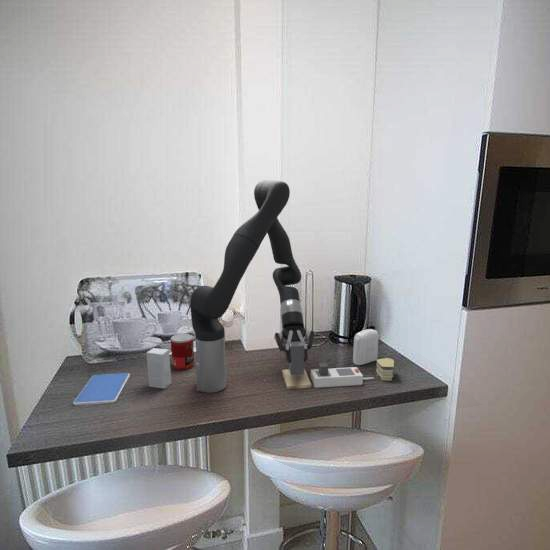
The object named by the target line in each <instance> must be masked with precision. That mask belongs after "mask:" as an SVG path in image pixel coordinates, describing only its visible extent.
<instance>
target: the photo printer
mask: <svg viewBox="0 0 550 550" xmlns="http://www.w3.org/2000/svg"><path fill="white" fill-rule="evenodd" d="M379 336H380V335H379V332H378V330H375V329H373V328H368V329H363V330H361V331H359V332H356V333H355V335H354V337H353V351H352V353H353V354H352V363H353V364H354V365H356V366H362V365H363V366H364V365H366V364H369V363H372V362H375V361H377V360H378V356H379V355H378V354H379V340H380V337H379Z"/></svg>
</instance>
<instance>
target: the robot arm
mask: <svg viewBox="0 0 550 550" xmlns="http://www.w3.org/2000/svg"><path fill="white" fill-rule="evenodd" d="M290 190H291V189H290V187H289V185H288V184H287V182H285V181H282V180H260V181H258V182H257V183H256V185H255V187H254V190H253V196H254V200H255V204H256V208H257V209H258V211H257V212H256V213H255V214H254V215H253V216H251V217H250V218H249V219H247V220H246V221H245V222H244V223H242V225H240V226H239V227H238V228H237V229H236V231H235V232H234V233H233V235H232V237H231V238H230V240H229V242H228V244H227V245H226V247H225V251H224V252H225V253H224V260H223V268H222V271H221V274H220V277H219V278H218V280H217V281H216V283H215V285H214V286H213V287H212V286H209V285H200V286H197V287H196V288H195V289H194V290H193V291H192V294H191V296H190V301H189V307H190V317H191V324H192V325H191V326H192V329H193V331H194V337H195V352H196V353H195V355H196V357H195V358H196V360H195V361H196V362H195V371H196V372H195V373H196V391H197V392H202V393H207V394H208V393H209V394H211V393H218V392H220V391H222V390H224V389H225V388H226V387H227V364H226V362H227V361H226V335H225V334H226V333H225V327H224V325H223V324H222V323H221V321H220V320H219V319H220V318H221V317H222V316H224V314H225V313H226V312H227V310H228V309H229V307H230V305H231V303H232V300H233V298H234V296H235V294H236V292H237V288H238V286H239V285H240V282H241V280H242V279H243V277H244V275H245V273H246V271H247V269H248V268H249V266H250V264H251V262H252V260H253V259H254V258H255V256H256V254H257V252H258V250H259V249H260V246H261V244H262V242H263V240H264V238H265V237H266V235H267V236H268V239H269V242H270V248H271V251H272V252H271V253H272V255H273V256H272V257H273V260H274V263H275V264H277V265H285V266H282V267H281V266H280V267H277V268H275V269H274V270H273V272H272V279H273V282H274V285H275V286H276V288H277V291H278V295H279V301H280V302H279V303H280V317H281V318H280V319H281V328H282V330H281V331H280V332H275V334H274V340H275V342H276V344H277V347H278V350H279V351H280V352H284V353H285V360H286V362H288V364H289V363H291V356H290V350H289V348H290V347H289V343H291V342H297V341H301V342H303V344H304V363H307V360H308V359H309V355H308V354H309V353H308V351H309V350H311V349H312V346H313V341H314V335H315V332H314V330H310V331H308V330H307V329H306V328H305V324H304V317H303V309H302V306H301V305H302V304H301V301H300V293H299V290H298V288H296V287H294V286H291V285H296V284H299V283H300V282H301V281H302V272H301V271H300V270H301V269H300V268H299V266H298V265H297V263H296V260H295V258H294V256H293V250H292V245H291V240H290V238H289V235H288V233H287V231H286V230H285V229H284V227H283V225H282V223H281V222H280V220H279V219H278V217H279V215H280V214H281V213H282V212H283V210H284V208H285V207H286V206H287V204H288V202H289V199H290V194H291V193H290V192H291V191H290ZM305 336H306V338H307V339H308V344H306V341H305V339H304V338H305ZM282 337H283V338H284V339H285V340H286V344H285V346H284V344H283V343H284V342H282Z"/></svg>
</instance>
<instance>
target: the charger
mask: <svg viewBox="0 0 550 550" xmlns="http://www.w3.org/2000/svg"><path fill="white" fill-rule="evenodd" d="M289 347H290V348H289V350H290V356H291V363H288V369H289V371H290V374H291V375H297V374H304V369H305V362H304V344H303V342H301V341H297V342H291V343H289Z"/></svg>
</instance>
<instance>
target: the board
mask: <svg viewBox="0 0 550 550" xmlns="http://www.w3.org/2000/svg"><path fill="white" fill-rule="evenodd" d="M281 372H282V377H283V380H284V384H285V386H286V389H287V390H291V389H292V390H293V389H309V388H312V386H313V383H312V381H311V379H310V377H309V375H308V373H307V371H306V369H305V368H304V374H297V375H291V374H290V371H289V368H288V369H282V370H281Z"/></svg>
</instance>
